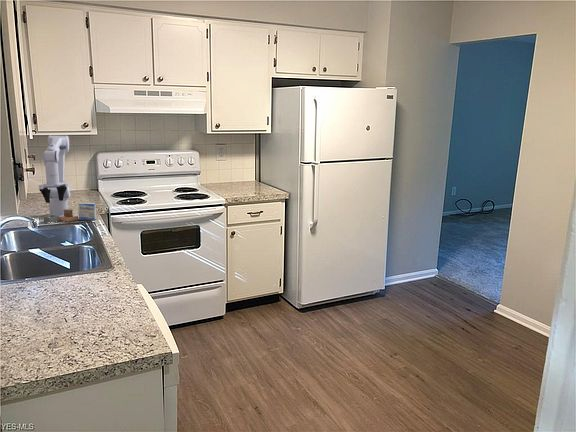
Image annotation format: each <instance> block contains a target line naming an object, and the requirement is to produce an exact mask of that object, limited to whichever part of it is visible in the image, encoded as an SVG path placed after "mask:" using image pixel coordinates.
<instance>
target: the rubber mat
mask: <svg viewBox="0 0 576 432" xmlns="http://www.w3.org/2000/svg"><path fill="white" fill-rule="evenodd" d="M61 221H62V220H59V222H61ZM72 221H73V222H77V221H80V220H79V218H78V219H77V221H76V220H72ZM67 222H68V223H71V222H70V221H65V222H64V223H67Z"/></svg>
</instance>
